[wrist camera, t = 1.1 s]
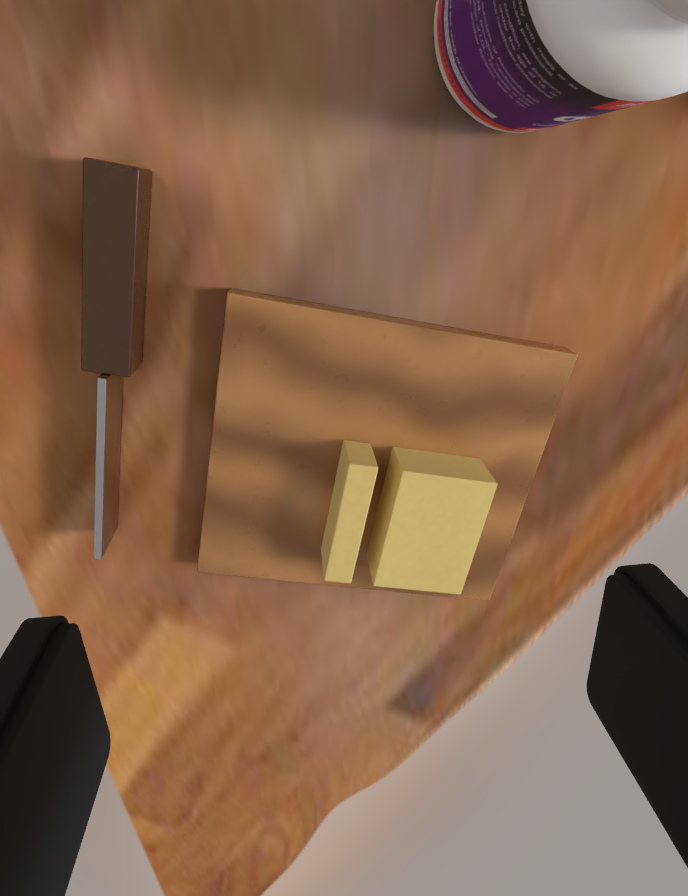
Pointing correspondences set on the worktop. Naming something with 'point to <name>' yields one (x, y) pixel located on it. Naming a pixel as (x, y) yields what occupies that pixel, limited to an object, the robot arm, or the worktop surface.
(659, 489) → the worktop surface
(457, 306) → the worktop surface
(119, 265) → the knife
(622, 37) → the pill bottle
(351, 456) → the butter pat
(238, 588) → the worktop surface
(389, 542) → the butter block
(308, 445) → the cutting board
